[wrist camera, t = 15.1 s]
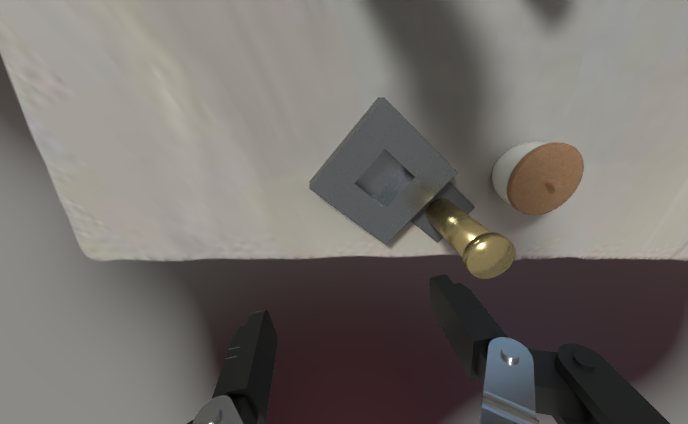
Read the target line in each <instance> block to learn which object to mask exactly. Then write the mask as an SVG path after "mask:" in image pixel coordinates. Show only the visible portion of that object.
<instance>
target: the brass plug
mask: <svg viewBox="0 0 688 424" xmlns="http://www.w3.org/2000/svg"><path fill="white" fill-rule="evenodd" d="M426 217H427V219H428V221H429V222H430V223H431V224H432V225H433V226H434V227H435V228H436V229H437V231H438V232H439V233H440V234H441V235H442V236H443V237H444V238H445V239H446V240H447V242H448V243H449V244H450V245H451V246H452V247H453V248H454V249H455V250H456V251H457V252H458V254H459V255H460V256H461V257H462V261H463V264H464V266H465V267H466V268H467V269H468V270H469V271H470V273H471V274H472V275H473V276H475V277H477V278H480V279H489V278H493V277H496V276H498V275H500V274H502V273H503V272H505V271H506V270H507V269H508V268H509V267H510V265H511V264H512V262H513V261H514V258H515V247H514V245H513V244H512V243H511V242H510V241H509V240H507V239H506V238H505V237H503V236H502V235H500V234H498V233H492V232H490V231H489V230H487V229H486V228H485V227H483V226H482V225H481V224H480V223H478V222H477V221H476V220H474V219H473V218H472V217H471V216H469V215H468V214H467V213H465V212H464V211H463V210H461V209H460V208H459V207H458V206H456V205H455V204H454V203H452V202H451V201H450V200H448V199H446V198H439V199H436V200H434V201H433V202H432V203H430V205H429V206H428V208H427V210H426Z"/></svg>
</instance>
